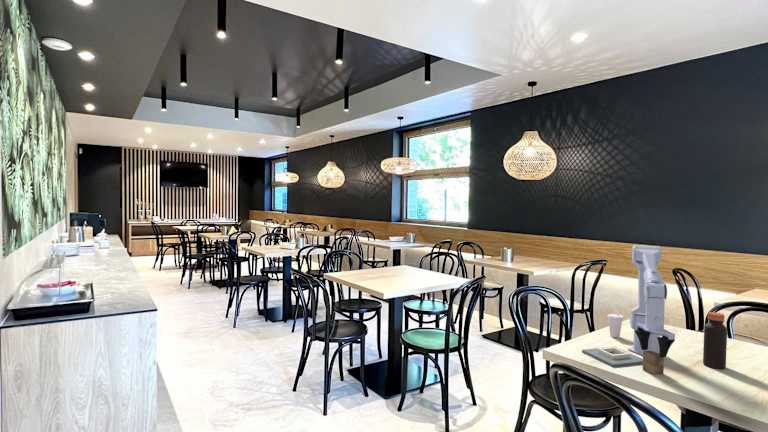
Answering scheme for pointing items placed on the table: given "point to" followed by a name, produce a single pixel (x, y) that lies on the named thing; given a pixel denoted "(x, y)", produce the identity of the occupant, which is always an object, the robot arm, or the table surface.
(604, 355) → the holder
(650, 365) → the peg
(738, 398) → the table surface
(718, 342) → the bottle
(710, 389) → the table surface
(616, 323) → the smoothie
